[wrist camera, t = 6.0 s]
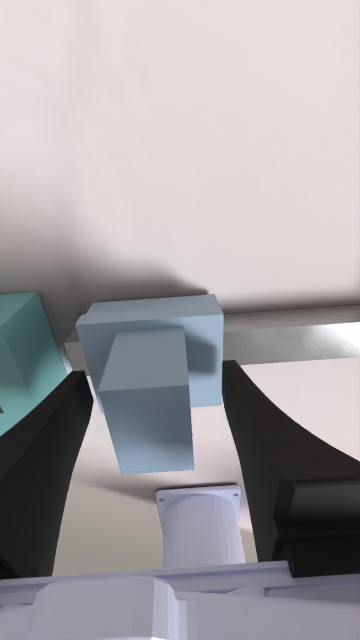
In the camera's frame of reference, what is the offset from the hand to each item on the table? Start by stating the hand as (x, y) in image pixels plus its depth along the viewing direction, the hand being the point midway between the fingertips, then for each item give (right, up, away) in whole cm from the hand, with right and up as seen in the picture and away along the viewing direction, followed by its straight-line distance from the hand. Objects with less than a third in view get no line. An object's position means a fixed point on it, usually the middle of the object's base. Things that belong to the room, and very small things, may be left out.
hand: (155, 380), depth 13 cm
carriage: (0, +2, +4) cm, 4 cm away
